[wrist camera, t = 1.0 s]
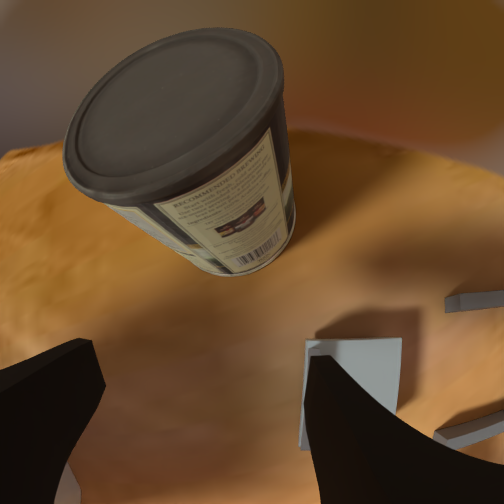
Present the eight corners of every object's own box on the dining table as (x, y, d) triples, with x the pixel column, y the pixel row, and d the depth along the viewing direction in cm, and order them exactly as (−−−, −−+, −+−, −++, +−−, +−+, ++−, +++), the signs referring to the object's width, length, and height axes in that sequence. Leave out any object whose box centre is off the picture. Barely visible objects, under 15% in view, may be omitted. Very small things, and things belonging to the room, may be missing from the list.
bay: (511, 416, 13) (526, 420, 11) (431, 443, 15) (443, 453, 12) (521, 291, 16) (536, 286, 14) (444, 297, 18) (460, 293, 16)
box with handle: (376, 424, 16) (397, 449, 11) (299, 427, 17) (298, 455, 12) (384, 336, 18) (410, 338, 13) (305, 338, 19) (307, 341, 14)
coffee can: (217, 148, 25) (157, 25, 12) (317, 191, 22) (325, 42, 9) (153, 240, 23) (34, 156, 10) (252, 303, 21) (167, 252, 7)
